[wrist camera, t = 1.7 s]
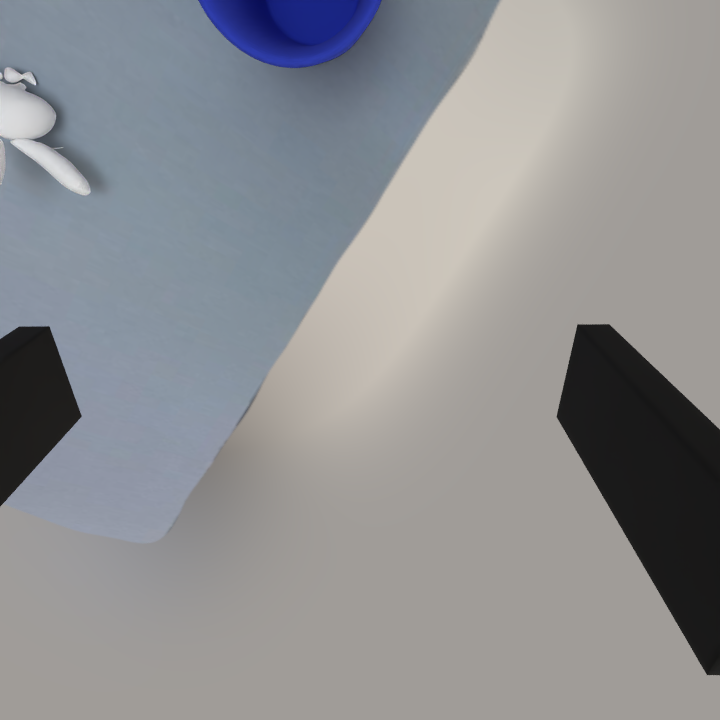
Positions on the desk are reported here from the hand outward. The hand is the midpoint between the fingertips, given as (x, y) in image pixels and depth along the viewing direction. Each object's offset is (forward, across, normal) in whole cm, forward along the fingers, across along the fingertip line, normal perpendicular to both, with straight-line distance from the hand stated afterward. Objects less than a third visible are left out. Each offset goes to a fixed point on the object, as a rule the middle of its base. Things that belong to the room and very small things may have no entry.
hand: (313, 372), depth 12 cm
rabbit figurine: (+23, -19, +4) cm, 30 cm away
